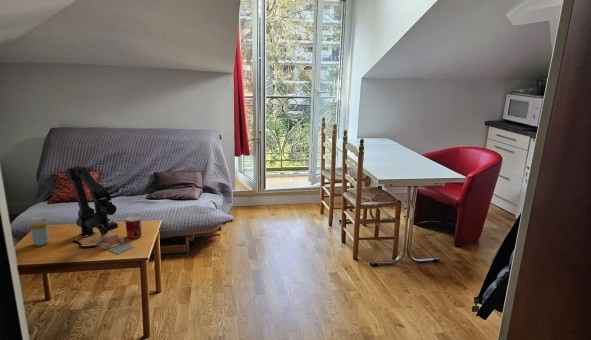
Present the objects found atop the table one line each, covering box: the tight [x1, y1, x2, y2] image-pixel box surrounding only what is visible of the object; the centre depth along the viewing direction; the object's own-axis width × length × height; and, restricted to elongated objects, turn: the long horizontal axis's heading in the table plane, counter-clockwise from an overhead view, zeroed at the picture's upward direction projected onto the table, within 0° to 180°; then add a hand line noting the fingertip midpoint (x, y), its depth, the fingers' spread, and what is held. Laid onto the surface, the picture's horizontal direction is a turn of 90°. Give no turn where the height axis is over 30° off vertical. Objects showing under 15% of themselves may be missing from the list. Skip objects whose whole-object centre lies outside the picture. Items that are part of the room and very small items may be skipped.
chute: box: [92, 235, 125, 251], centre depth 221 cm, size 12×10×3 cm
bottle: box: [30, 215, 50, 248], centre depth 218 cm, size 7×7×15 cm
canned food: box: [125, 215, 142, 240], centre depth 230 cm, size 8×8×11 cm
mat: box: [107, 242, 135, 255], centre depth 216 cm, size 8×10×1 cm
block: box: [100, 231, 119, 246], centre depth 220 cm, size 6×6×5 cm
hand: (104, 237), depth 222 cm, fingers closed
